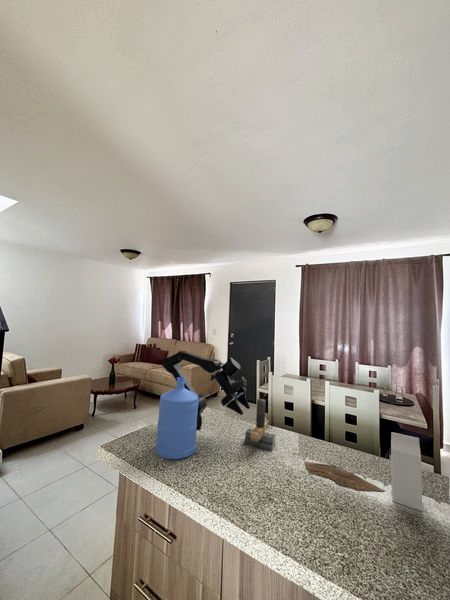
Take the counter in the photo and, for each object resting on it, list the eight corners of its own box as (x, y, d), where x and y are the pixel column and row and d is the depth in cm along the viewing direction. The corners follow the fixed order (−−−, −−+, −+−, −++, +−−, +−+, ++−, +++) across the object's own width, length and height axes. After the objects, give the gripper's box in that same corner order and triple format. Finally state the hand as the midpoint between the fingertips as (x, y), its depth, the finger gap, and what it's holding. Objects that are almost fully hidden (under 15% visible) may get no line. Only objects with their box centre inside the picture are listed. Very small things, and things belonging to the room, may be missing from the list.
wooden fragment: (298, 469, 90) (298, 466, 90) (308, 458, 99) (308, 455, 99) (382, 503, 75) (382, 499, 75) (385, 486, 83) (385, 483, 83)
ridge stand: (244, 443, 108) (244, 432, 108) (248, 438, 113) (249, 427, 114) (271, 450, 103) (272, 439, 103) (275, 444, 108) (275, 433, 109)
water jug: (184, 464, 89) (189, 384, 92) (147, 455, 94) (153, 379, 97) (201, 445, 104) (206, 376, 107) (168, 438, 109) (173, 372, 112)
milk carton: (422, 512, 71) (420, 442, 73) (392, 501, 75) (391, 435, 77) (419, 498, 77) (417, 434, 79) (391, 489, 81) (390, 428, 83)
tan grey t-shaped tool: (258, 442, 99) (259, 406, 101) (249, 440, 101) (251, 404, 102) (269, 427, 116) (270, 396, 117) (261, 425, 117) (262, 394, 119)
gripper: (229, 374, 107) (252, 406, 102) (243, 369, 124) (264, 395, 119) (211, 390, 110) (233, 422, 104) (228, 383, 127) (247, 409, 121)
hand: (245, 411), depth 112 cm, fingers open, 9 cm apart
